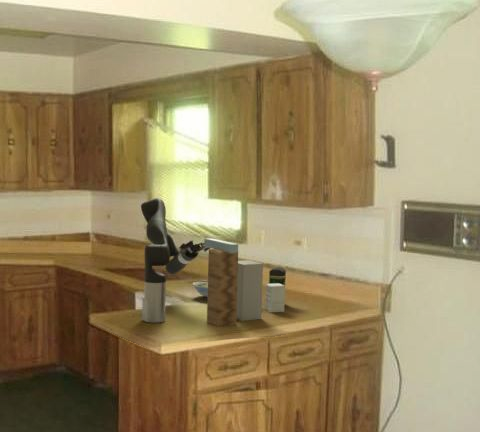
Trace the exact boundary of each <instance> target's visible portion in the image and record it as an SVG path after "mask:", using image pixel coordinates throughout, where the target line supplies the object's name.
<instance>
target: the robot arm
mask: <svg viewBox="0 0 480 432" xmlns="http://www.w3.org/2000/svg"><path fill="white" fill-rule="evenodd" d="M140 209H141V214H142V216H143V217H144V219H145V221H146V223H147V224H146V228H145V229H146V237H147V239H148V241H149V242H150V243H151V244H146V246H145V247H144V295H143V298H142V309H141V310H142V311H141V314H142V315H141V320H142V321H144V322H146V323H154V324H155V323H163V322H166V295H167V293H166V292H167V291H166V288H167V277H166V276H167V275H166V274H164V273H161V272H158V271H156V270H155V269H154V268H153V267H164V266H165V270H166V272H167V273H168V274H169V275H171V276H173V275H174V276H175V275H176V274H178V273H180V271H182V270H183V269H185V268H186V266H187V265H189V264H190V263H191V262H192V261H194V259H196V258H197V257H198V255H199V253H200V252H202V251H203V252H207V251H209V249H211V248H209V247H205V246H204V242H199V243H195V244H194V240H192V239H191V240H190V241H188V242H186V243H182V244H180V246H179V247H178V248H177V246H176V244H175V242H174V239H173V237H172V235H170V234H169V233H168V231H167V230H168V229H167V222H166V218H167V217H166V213H167V210H166V205H165V202H164V200H163V199H161V198H160V197H155V198H153V199H150V200H148V201H147V200H146V201H144V202H142V203H141V205H140ZM171 257H172V259H171Z"/></svg>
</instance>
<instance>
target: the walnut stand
mask: <svg viewBox="0 0 480 432" xmlns="http://www.w3.org/2000/svg"><path fill="white" fill-rule="evenodd" d="M207 261H208V268H207V269H208V270H207V280H208V298H207V303H206V304H207V305H206V306H207V307H206V308H207V309H206V323H207V324H208V323H209V324H211V325H213V326H215V327H226V326H227V327H228V326H237V319H236V315H237V279H238V261H239V252H238V253H230V252H225V251H221V250H217V249H213V248H210V249H209V250H208V260H207Z"/></svg>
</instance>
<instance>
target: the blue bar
mask: <svg viewBox="0 0 480 432" xmlns="http://www.w3.org/2000/svg"><path fill="white" fill-rule="evenodd" d="M203 243H204V246H205V247H209V248H210V249H217V250H221V251H225V252H230V253H238V254H239V244H238V243H234V242H229V241H225V240H221V239H216V238H204V242H203Z"/></svg>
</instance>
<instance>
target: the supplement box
mask: <svg viewBox="0 0 480 432" xmlns="http://www.w3.org/2000/svg"><path fill="white" fill-rule="evenodd" d="M264 295H265V297H264V299H265V300H264V310H266V311H267V312H269V313H284V312H285V301H286V300H285V299H286V285H285V286H284V285H282V284H280V283H276V284H269V283H265V293H264Z"/></svg>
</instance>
